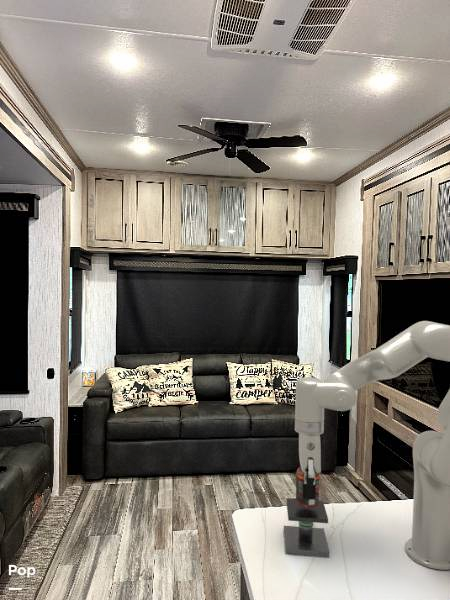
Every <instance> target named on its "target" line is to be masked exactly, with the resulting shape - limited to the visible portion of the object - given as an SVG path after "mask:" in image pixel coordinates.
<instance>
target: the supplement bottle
mask: <svg viewBox="0 0 450 600" xmlns="http://www.w3.org/2000/svg"><path fill="white" fill-rule="evenodd" d="M299 465H300V464H299ZM306 471H308V469H306ZM307 476H308V474H306V478H307ZM295 480H296V483H295V499H296V502H297V504H298V505H300V506H302V507H305V508H314V507H316V506H317V505H318V501H319V500H320V498H319V497H320V473H319V474H318V473H316V470H315V484H316V491H315V499H314V500H311V499H303V483H304V472H302V470H301V465H300V466H299V467H298V468H297V470H296V479H295Z"/></svg>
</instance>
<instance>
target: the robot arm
mask: <svg viewBox="0 0 450 600" xmlns="http://www.w3.org/2000/svg"><path fill="white" fill-rule="evenodd" d="M427 358H429V359H430V358H431V359H435V360H439V361H445V362H450V325H449V324H444V323H439V322H434V321H429V320H422V321H418V322H416V323H414V324H412V325H410V326H409V327H408V328H407V327H406V329H405V330H403V331H401V332H399V334H397V335H395V336H394V337H393V338H390V340H388V341H387V342H385V343H383V344H381V345H380V346H379V347H377V348H375V349H373V350H372V351H369V352H368V353H366V354H364V355H362V356H360V357H357V358H356V359H354V360H352V361H350V362H348V363H347V364H345V365H344V366H342V367H340V368H339V369H337V370H336V371H334V372H333V373H332V374H330V375H329V376H328V377H326V379H325V381H323V379H320V378H317V377H310V376H309V377H307V376H306V377H300V378H299V379H297V381H296V382H295V407H294V408H295V409H294V411H295V412H294V413H295V414H294V431H295V432H296V433H298V457H299V465H301V466H300V467H301V470H302V472H304V483H303V499H311V500H314V499H315V491H316V484H315V470H316V473H318V474H319V475H320V474H321V472H322V466H321V465H322V461H321V460H322V458H321V457H322V455H321V453H322V449H321V446H322V445H321V435H322V434H324V431H325V426H324V425H325V409H327V410H333V411H339V412H346V411H349V410H352V409H353V408H354V406H355V405H356V404H357V400H358V395H357V392H356V391H358V390H360V389H361V388H363V387H364V386H366V385H368V384H370V383H373V382H376V381H383V380H391V379H394V378H397V377H400V375H402V374H403V373H405V372H407V371H408V370H410V369H411V368H412V367H414V366H415V365H417V364H419V363H420V362H422V361H424V360H425V359H427ZM436 418H437V422H438V423H439V425H440V426H441V427H442V428H443V429H444V430H445V431H444V434H443V433H442V432H439V431H436V430H426V431H423V432H421V433H420V434H418V436H417V437H415V440H414V442H413V446H412V461H413V462H412V463H413V478H414V479H413V505H412V528H411V530H412V531H411V532H412V533H411V538H409V539H408V540H406V541H405V544H404V545H405V546H404V549H405V552H406V554H407V555H408V557H409V558H411V559H412V560H413V561H415V562H416V563H418V564H420V565H421V566H424V567H426V568H430V569H435V570H439V571H447V570H448V571H449V570H450V388H449V389H448V391H447V393H446V395H445V397H444V398H443V400H442V401H441V403H440V405H439V407H438V408H437V411H436ZM306 469H308V471H306ZM306 474H308V476H307V478H306Z"/></svg>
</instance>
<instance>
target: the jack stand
mask: <svg viewBox="0 0 450 600" xmlns="http://www.w3.org/2000/svg"><path fill="white" fill-rule="evenodd" d="M285 502H286V503H285V504H286V511H287V512H286V513H287V520H288V522H290V521H291V522H298V526H294V525H283V539H284V541H283V542H284V552H285V555H287V556H298V557H299V556H303V557H314V558H326V559H327V558H328V559H330V553H331V552H330V548H329V544H328V540H327V536H326V533H325V528H324V527H322V528H321V527H319V528H318V527H314V524H315V523H317V524H329V517H328V513H327V510H326V506H325V502H324V500H320V499H319V501H318V505H317V506H316V507H314V508H305V507H302V506H300V505H298V504H297V502H296V498H286V501H285Z"/></svg>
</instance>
